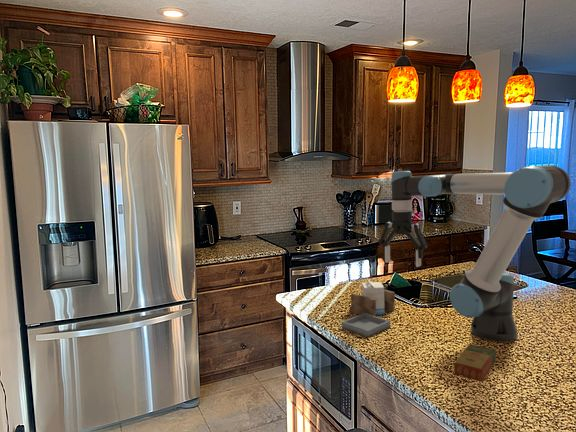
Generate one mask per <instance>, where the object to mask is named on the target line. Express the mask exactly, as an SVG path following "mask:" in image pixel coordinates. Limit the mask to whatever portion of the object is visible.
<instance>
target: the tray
mask: <svg viewBox="0 0 576 432" xmlns="http://www.w3.org/2000/svg"><path fill="white" fill-rule="evenodd" d="M389 328H391V320H388V319H386V318H382V317H379V316H373V315H370V314H367V313H362V314H360V315H359V314H357V315H356V316H355V315H354V316H352V317H350V318H348V319H346V320H342V321H341V329H343V330H346V331H349V332H351V333H355V334H357V335H361V336H362V337H365V338H370V337H373V336H375V335H377V334H379V333H381V332H383V331H385V330H387V329H389Z"/></svg>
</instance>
